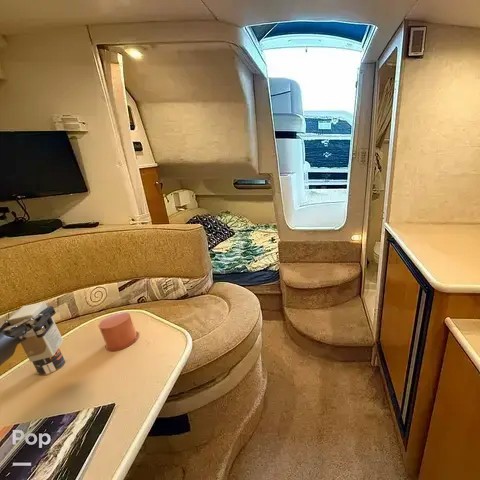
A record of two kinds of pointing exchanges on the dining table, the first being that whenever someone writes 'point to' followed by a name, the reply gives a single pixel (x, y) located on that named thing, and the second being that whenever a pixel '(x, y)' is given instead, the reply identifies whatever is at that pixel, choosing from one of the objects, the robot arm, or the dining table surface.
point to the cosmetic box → (34, 345)
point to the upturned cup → (118, 331)
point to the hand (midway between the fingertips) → (39, 311)
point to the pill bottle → (49, 363)
